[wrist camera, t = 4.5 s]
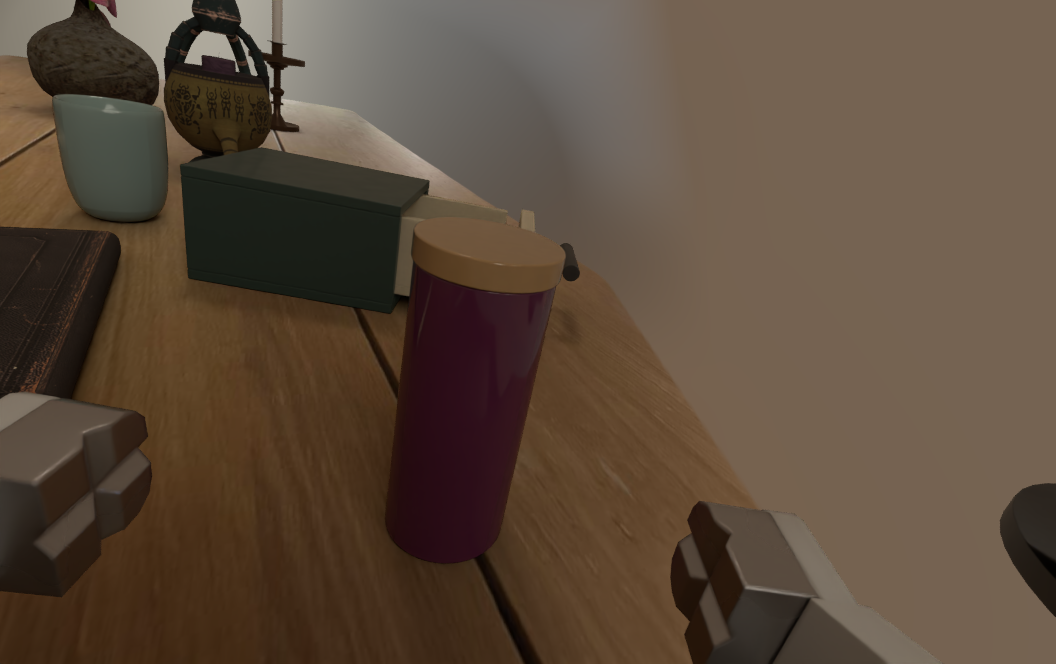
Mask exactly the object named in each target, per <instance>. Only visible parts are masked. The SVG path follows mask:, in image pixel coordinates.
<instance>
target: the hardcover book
mask: <svg viewBox="0 0 1056 664" xmlns="http://www.w3.org/2000/svg"><path fill="white" fill-rule="evenodd" d="M120 254H121V246H120V241H119V238H118V237H117V236H116V235H115V234H113V233H111V232H109V231H91V230H67V229H43V228H19V227H0V399H1V398H3V397H4V396H6V395H8V394H10V393H19V392H30V393H36V394H42V395H47V396H53V397H58V398H67V399H70V398H71V395H72V392H73V389H74V386H75V384H76V381H77V378H78V375H79V372H80V369H81V366H82V363H83V361H84V358H85V355H86V352H87V349H88V346H89V343H90V340H91V337H92V335H93V332H94V329H95V326H96V323H97V320H98V317H99V314H100V312H101V309H102V306H103V303H104V300H105V297H106V294H107V291H108V288H109V286H110V283H111V280H112V277H113V274H114V271H115V268H116V265H117V262H118V260H119V257H120Z"/></svg>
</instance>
